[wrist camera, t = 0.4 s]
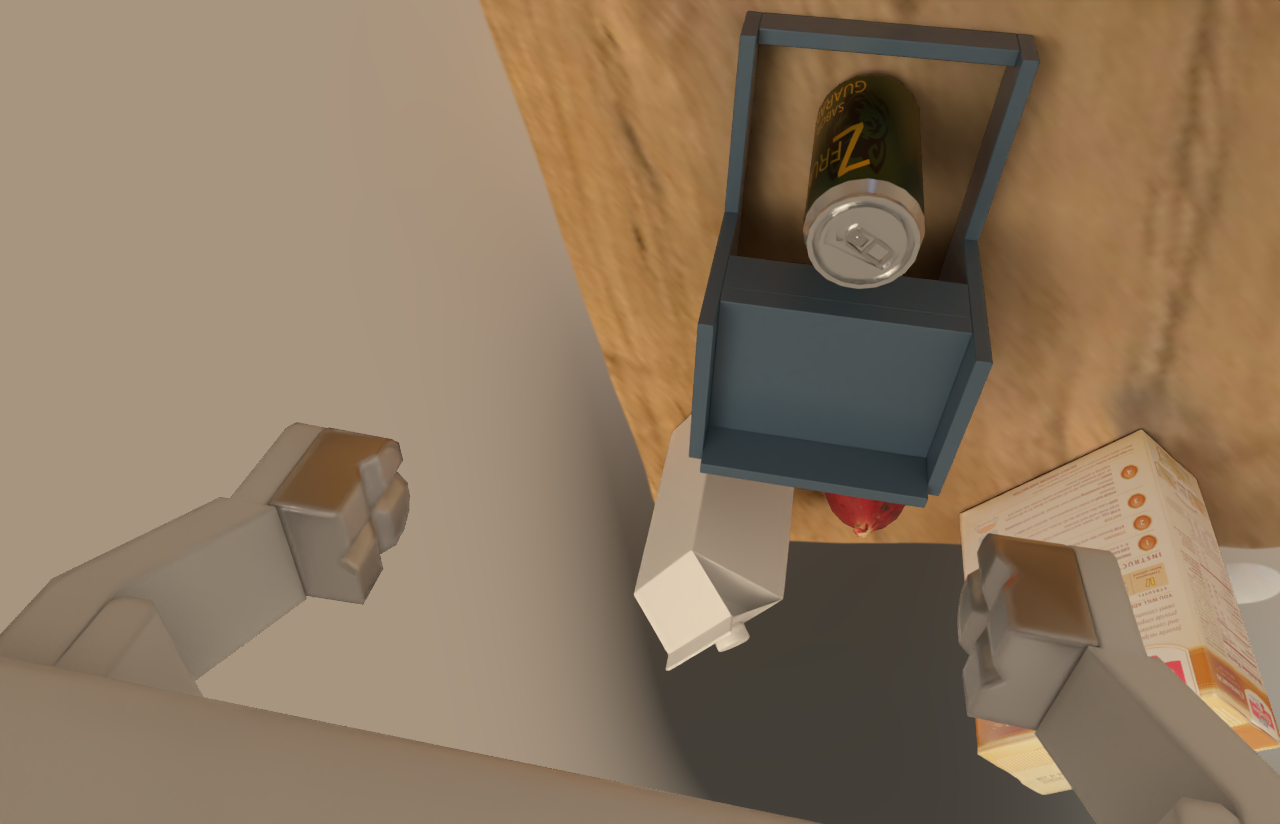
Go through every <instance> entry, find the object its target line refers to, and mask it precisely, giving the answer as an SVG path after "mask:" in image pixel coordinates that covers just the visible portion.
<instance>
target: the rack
mask: <svg viewBox="0 0 1280 824" xmlns="http://www.w3.org/2000/svg"><path fill="white" fill-rule="evenodd" d="M759 44H766V45H777V46H788V47H800V48H811V49H822V50H833V51H845V52H856V53H867V54H878V55H890V56H901V57H912V58H923V59H935V60H946V61H957V62H968V63H980V64H991V65H1002V66H1006V69H1005V72H1004V75H1003V78H1002V82H1001V85H1000V88H999V91H998V94H997V97H996V100H995V104H994V107H993V110H992V113H991V116H990V119H989V123H988V126H987V129H986V132H985V135H984V138H983V142H982V145H981V148H980V151H979V154H978V157H977V160H976V164H975V167H974V170H973V173H972V176H971V179H970V183H969V186H968V189H967V192H966V195H965V198H964V201H963V205H962V208H961V211H960V214H959V217H958V220H957V223H956V226H955V230H954V233H953V236H952V239H951V242H950V245H949V249H948V252H947V255H946V258H945V261H944V264H943V268H942V271H941V274H940V277H939V280H938V281H937V280H928V279H920V278H912V277H904V276H900V277H898V278H897V279H895V280H894V281H892V282H890V283H887V284H884V285H881V286H878V287H875V288H863V289H856V288H850V287H844V286H840V285H838V284H836V283H834V282H832V281H829V280H827V279H826V278H825V277H824V276H823V275H821V274H820V273H819V272H818V271H817V270H816V269H815V267H814V266H813V265H806V264H798V263H789V262H781V261H773V260H765V259H757V258H749V257H740V256H737V253H738V243H739V234H740V224H741V215H742V205H743V196H744V186H745V176H746V167H747V157H748V148H749V138H750V129H751V119H752V109H753V100H754V90H755V81H756V71H757V62H758V52H759ZM1039 63H1040V60H1039V56H1038V53H1037V49H1036V45H1035V42H1034V38H1033V36H1032V35H1021V34H1017V35H1016V34H1011V33H999V32H987V31H975V30H963V29H951V28H939V27H927V26H915V25H903V24H892V23H880V22H868V21H856V20H844V19H832V18H820V17H808V16H796V15H784V14H772V13H763V14H762V13H760V12H747V14H746V17H745V21H744V24H743V27H742V31H741V34H740V42H739V54H738V65H737V77H736V88H735V99H734V111H733V122H732V133H731V145H730V156H729V168H728V179H727V190H726V202H725V213H724V217H723V221H722V225H721V229H720V234H719V238H718V242H717V246H716V250H715V254H714V259H713V263H712V267H711V271H710V275H709V279H708V284H707V288H706V292H705V296H704V300H703V305H702V309H701V313H700V317H699V321H698V329H697V343H696V358H695V372H694V386H693V401H692V415H691V430H690V444H689V457H690V458H697V459H701V464H700V473H706V474H712V475H718V476H725V477H731V478H738V479H744V480H750V481H757V482H763V483H769V484H776V485H782V486H788V487H795V488H801V489H808V490H814V491H820V492H827V493H833V494H839V495H846V496H852V497H859V498H865V499H871V500H878V501H884V502H890V503H897V504H903V505H910V506H916V507H922V508H924V507H925V505H926V503H927V500H928V494H930V495H936V496H939V494H940V492H941V489H942V487H943V484H944V482H945V479H946V477H947V475H948V472H949V470H950V467H951V465H952V462H953V460H954V457H955V455H956V453H957V450H958V448H959V445H960V443H961V440H962V438H963V435H964V433H965V431H966V428H967V426H968V423H969V421H970V418H971V416H972V413H973V411H974V409H975V406H976V404H977V401H978V399H979V396H980V394H981V391H982V389H983V387H984V384H985V382H986V379H987V377H988V374H989V372H990V369H991V367H992V365H993V360H992V352H991V344H990V335H989V327H988V319H987V311H986V302H985V294H984V286H983V278H982V270H981V261H980V253H979V245H978V240H979V238H980V235H981V232H982V229H983V226H984V223H985V220H986V217H987V214H988V212H989V209H990V206H991V203H992V200H993V197H994V194H995V191H996V188H997V185H998V182H999V180H1000V177H1001V174H1002V171H1003V168H1004V165H1005V162H1006V159H1007V156H1008V153H1009V151H1010V148H1011V145H1012V142H1013V139H1014V136H1015V133H1016V130H1017V127H1018V124H1019V121H1020V119H1021V116H1022V113H1023V110H1024V107H1025V104H1026V101H1027V98H1028V95H1029V92H1030V90H1031V87H1032V84H1033V81H1034V78H1035V75H1036V72H1037V69H1038V66H1039Z"/></svg>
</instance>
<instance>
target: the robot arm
mask: <svg viewBox="0 0 1280 824" xmlns="http://www.w3.org/2000/svg"><path fill="white" fill-rule="evenodd" d="M402 461H403V458H402V454H401V450H400V445H399V443H398V442H396V441H394V440H392V439H388V438H382V437H377V436H372V435H366V434H361V433H355V432H350V431H345V430H339V429H334V428H324V427H319V426H313V425H308V424H302V423H294V424H293V425H290V426H288V427H287V428H286V429H285V430H284V432H282V434H281V435H280V436H279V437H278V439H277V440H276V441H275V442H274V444H273V445H272V446H271V448H270V449H269V450H268V451H267V453H266V454H265V455H264V456H263V458H262V459H261V460H260V461H259V463H258V464H257V465H256V466H255V468H254V469H253V470H252V471H251V473H250V474H249V475H248V476H247V478H246V479H245V480H244V481H243V483H242V484H241V485H240V486H239V488H238V489H237V490H236V491H235V493H234V494H233V495H232V496H231V498H223V497H219V498H217V499H215V500H213V501H211V502H209V503H207V504H205V505H203V506H201V507H199V508H197V509H195V510H193V511H190V512H188V513H186V514H184V515H182V516H180V517H178V518H176V519H174V520H172V521H170V522H168V523H166V524H164V525H162V526H160V527H158V528H155V529H153V530H151V531H149V532H147V533H145V534H143V535H141V536H139V537H137V538H135V539H133V540H131V541H129V542H127V543H125V544H123V545H120V546H119V547H116V548H114V549H112V550H110V551H108V552H106V553H104V554H102V555H100V556H98V557H96V558H94V559H92V560H90V561H88V562H85V563H84V564H81V565H79V566H78V567H75V568H73V569H71V570H69V571H67V572H65V573H63V574H61V575H59V576H57V577H55V578H53V579H51V580H50V582H49V583H48V584H47V585H46V586H45V587H44V588H43V589H42V590H41V591H40V592H39V593H38V594H37V596H36V597H35V598H34V599H33V600H32V601H31V602H30V603H29V604H28V605H27V606H26V607H25V608H24V610H23V611H22V612H21V613H20V614H19V615H18V616H17V617H16V618H15V619H14V620H13V621H12V622H11V624H10V625H9V626H8V627H7V628H6V629H5V630H4V631H3V632H2V633H1V634H0V824H822V823H817V822H812V821H807V820H802V819H797V818H793V817H788V816H782V815H778V814H772V813H768V812H763V811H758V810H753V809H748V808H743V807H738V806H733V805H728V804H723V803H718V802H713V801H709V800H704V799H699V798H694V797H689V796H684V795H679V794H674V793H669V792H665V791H659V790H655V789H649V788H645V787H639V786H635V785H630V784H625V783H620V782H616V781H611V780H606V779H600V778H596V777H591V776H586V775H581V774H576V773H571V772H566V771H562V770H557V769H552V768H547V767H542V766H537V765H532V764H527V763H522V762H518V761H513V760H508V759H503V758H498V757H493V756H488V755H483V754H478V753H474V752H468V751H463V750H459V749H454V748H449V747H444V746H439V745H434V744H429V743H424V742H420V741H414V740H410V739H405V738H400V737H395V736H390V735H385V734H380V733H376V732H371V731H366V730H361V729H356V728H350V727H346V726H341V725H336V724H331V723H326V722H322V721H317V720H312V719H307V718H302V717H297V716H292V715H287V714H282V713H277V712H273V711H268V710H263V709H258V708H253V707H248V706H243V705H238V704H233V703H228V702H224V701H219V700H214V699H208V698H204V697H203V695H202V693H201V692H200V690H199V688H198V686H197V684H196V682H195V680H197V679H198V678H199V677H201V676H202V675H204V674H205V673H206V672H208V671H209V670H210V669H212V668H213V667H214V666H216V665H217V664H218V663H220V662H221V661H223V660H224V659H225V658H227V657H228V656H229V655H231V654H232V653H233V652H235V651H236V650H238V649H239V648H240V647H242V646H243V645H244V644H246V643H247V642H249V641H250V640H251V639H253V638H254V637H255V636H257V635H258V634H260V633H261V632H262V631H264V630H265V629H266V628H268V627H269V626H270V625H272V624H273V623H274V622H276V621H277V620H279V619H280V618H281V617H283V616H284V615H285V614H287V613H288V612H290V611H291V610H292V609H293V608H295V607H296V606H298V605H299V604H300V603H302V602H303V601H304V600H306V596H312V597H319V598H325V599H331V600H337V601H344V602H350V603H356V604H364V602H365V600H366V599H367V597H368V595H369V593H370V591H371V590H372V588H373V586H374V584H375V582H376V581H377V578H378V577H379V575H380V573H381V572H382V570H383V566H382V562H381V557H380V554H382V553H383V552H385V551H387V550H388V549H390V548H392V547H393V546H395V545H396V544H397V542H398V540H399V538H400V536H401V534H402V532H403V531H404V528H405V524H406V521H407V517H408V513H409V500H410V494H409V489H408V483H407V482H406V481H405V480H404V479H403V477H402V476H401V475H400V474H399V473H398V472H397V469H398V468H399V466H400V464H401V463H402ZM977 556H978V564H979V569H977V570H975V571H974V572H972V573H970V574H968V575H967V577H966V580H965V583H964V586H963V589H962V591H961V595H960V601H959V607H958V625H957V626H958V636H959V643H960V645H961V646H962V647H963V648H964V650H965V651H966V652H967V653H968V654H969V658H968V660H967V663H966V665H965V667H964V669H963V671H962V674H963V682H964V690H965V699H966V707H967V715H968V716H969V717H974V718H979V719H983V720H988V721H993V722H998V723H1002V724H1007V725H1012V726H1017V727H1021V728H1026V729H1031V730H1036V732H1035V735H1036V736H1037V738H1038V739H1039V741H1040V742H1041V744H1042V745H1043V747H1044V748H1045V749H1046V751H1047V752H1048V754H1049V755H1050V757H1051V758H1052V760H1053V761H1054V762H1055V764H1056V765H1057V767H1058V768H1059V770H1060V771H1061V773H1062V774H1063V776H1064V777H1065V778H1066V780H1067V781H1068V783H1069V784H1070V786H1071V787H1072V789H1073V790H1074V791H1075V793H1076V794H1077V796H1078V797H1079V799H1080V800H1081V802H1082V803H1083V805H1084V806H1085V807H1086V809H1087V810H1088V812H1089V813H1090V815H1091V816H1092V818H1093V819H1094V820H1095V822H1096V823H1097V824H1280V775H1279V774H1278V773H1277V772H1276V771H1275V770H1274V769H1273V768H1272V767H1271V766H1270V765H1268V764H1267V762H1265V761H1264V760H1263V759H1262V758H1261V757H1260V756H1259V755H1258V754H1257V753H1256V752H1255V751H1254V750H1253V749H1252V748H1251V747H1250V746H1249V745H1248V744H1247V743H1246V742H1245V741H1244V740H1243V739H1242V738H1241V737H1240V736H1239V735H1238V734H1237V733H1236V732H1235V731H1234V730H1233V729H1232V728H1231V727H1230V726H1229V725H1228V724H1227V723H1226V722H1224V721H1223V720H1222V719H1221V718H1220V717H1219V716H1218V715H1217V714H1216V713H1215V712H1214V711H1213V710H1212V709H1211V708H1210V707H1209V706H1208V705H1207V704H1206V703H1205V702H1204V701H1203V700H1202V699H1201V698H1200V697H1199V696H1198V695H1197V694H1196V693H1195V692H1194V691H1193V690H1192V689H1191V688H1190V687H1189V686H1188V685H1187V684H1186V683H1185V682H1183V681H1182V680H1181V679H1180V678H1179V677H1178V676H1177V675H1176V674H1175V673H1174V672H1173V671H1172V670H1171V669H1170V668H1169V667H1168V666H1167V665H1166V664H1165V663H1164V662H1163V661H1162V660H1161V659H1160V658H1155V657H1149V656H1147V653H1146V650H1145V647H1144V644H1143V641H1142V637H1141V634H1140V631H1139V628H1138V625H1137V622H1136V619H1135V616H1134V612H1133V609H1132V606H1131V603H1130V600H1129V597H1128V594H1127V590H1126V587H1125V584H1124V581H1123V578H1122V575H1121V572H1120V568H1119V565H1118V562H1117V559H1116V557H1115V556H1114V555H1113V554H1112V553H1111V552H1110V551H1106V550H1100V549H1093V548H1086V547H1079V546H1072V545H1068V546H1066V545H1064V544H1058V543H1051V542H1045V541H1038V540H1031V539H1025V538H1018V537H1011V536H1004V535H998V534H991V533H988V534H987V535H986V536H985V538H984V539H983V540H982V542H981V545H980V547H979V549H978V551H977Z"/></svg>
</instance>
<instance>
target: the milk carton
mask: <svg viewBox="0 0 1280 824" xmlns="http://www.w3.org/2000/svg"><path fill="white" fill-rule="evenodd" d="M691 415H692V414H691ZM691 415H690V416H689V417H688V418H687V419H686V420H685V421H684V422H683V423H682V424H680V425H679V426H678V427H677V428H676V429H675V430H674V431H673V433H672V436H671V440H670V444H669V448H668V453H667V457H666V461H665V465H664V470H663V474H662V478H661V482H660V486H659V491H658V495H657V499H656V503H655V508H654V512H653V516H652V520H651V525H650V529H649V533H648V538H647V541H646V545H645V550H644V554H643V558H642V562H641V567H640V571H639V575H638V579H637V584H636V588H635V592H634V596H635V597H636V599H637V601H638V603H639V605H640V606H641V608H642V609H643V611H644V613H645V615H646V616H647V618H648V620H649V622H650V623H651V625H652V627H653V629H654V630H655V632H656V634H657V636H658V637H659V639H660V641H661V643H662V644H663V646H664V648H665V650H666V651H667V653H668V655H669V656H668V661H667V666H666V670H671V669H673V668H674V667H676V666H678V665H679V664H681V663H683V662H684V661H686V660H688V659H689V658H691V657H693V656H694V655H696V654H698V653H699V652H701V651H703V650H705V649H706V648H708V647H710V646H711V645H713V644H714V643H715V644H716V646H717V649H718V651H719V652H722V651H725V650H728V649H731V648H733V647H735V646H737V645H739V644H741V643H743V642H745V641H747V640H748V639H749V637H750V636H749V634H748V632H747V631H746V628H745V625H744V624H743V623H744V622H746V621H748V620H749V619H751V618H753V617H754V616H756V615H758V614H759V613H761V612H763V611H764V610H766V609H768V608H769V607H771V606H773V605H774V604H776V603H778V602H779V601H781V600H782V599H783V595H784V586H785V577H786V567H787V556H788V545H789V536H790V526H791V515H792V505H793V495H794V487H788V486H782V485H776V484H769V483H763V482H757V481H750V480H744V479H738V478H731V477H725V476H718V475H712V474H706V473H700V464H701V459H697V458H690V457H689V444H690V430H691Z"/></svg>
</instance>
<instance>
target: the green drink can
mask: <svg viewBox="0 0 1280 824" xmlns="http://www.w3.org/2000/svg"><path fill="white" fill-rule="evenodd" d="M803 234H804V241H805V246H806V248H807V250H808V256H809V258H810V260H811V262H812V264H813V266H814V267H815V269H816V270H817V271H818V272H819V273H820V274H821V275H823V276H824V277H825V278H826V279H827V280H829V281H832V282H834V283H836V284H838V285H840V286H844V287H850V288H856V289H863V288H875V287H878V286H881V285H884V284H887V283H890V282H892V281H894V280H895V279H897V278H898V277H900V276H901V275H903V274H904V273H905V272H906V271H907V270H908V269H909V267H910V266H911V265H912V264H913V262H914V261H915V260H916V257H917V254H918V251H919V249H920V246H921V244H922V241H923V238H924V235H925V217H924V196H923V176H922V155H921V135H920V114H919V107H918V105H917V102H916V100H915V98H914V95H913V94H912V93H911V92H910V91H909V90H908V89H907V88H906V87H905V86H904V85H903V84H902V83H900V82H898V81H896V80H894V79H892V78H890V77H888V76H883V75H876V74H868V75H861V76H856V77H854V78H852V79H850V80H847V81H845V82H843V83H841V84H839V85H838V86H837V87H836V88H835V89H834V90H833V91H832V92H830V93H829V94H828V95H827V97H826V98H825V100H824V102H823V103H822V105H821V107H820V108H819V112H818V117H817V121H816V127H815V136H814V144H813V152H812V160H811V168H810V176H809V184H808V192H807V200H806V209H805V217H804V225H803Z"/></svg>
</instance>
